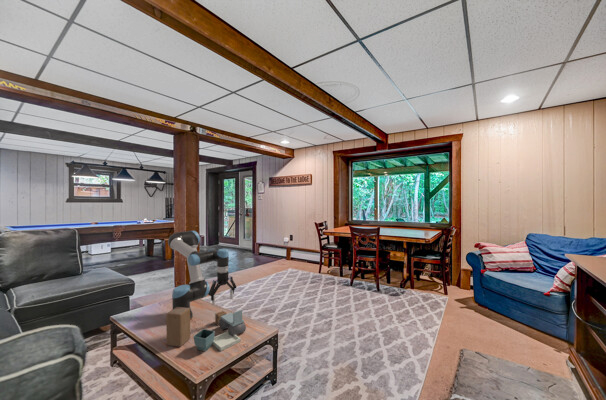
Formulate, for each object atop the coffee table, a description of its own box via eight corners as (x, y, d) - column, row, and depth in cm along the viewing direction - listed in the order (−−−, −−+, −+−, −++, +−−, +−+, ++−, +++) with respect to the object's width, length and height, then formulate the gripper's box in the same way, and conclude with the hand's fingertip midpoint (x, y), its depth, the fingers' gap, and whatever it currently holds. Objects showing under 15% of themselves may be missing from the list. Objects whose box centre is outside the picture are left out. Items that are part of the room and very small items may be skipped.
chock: (215, 323, 182) (215, 313, 182) (223, 320, 186) (222, 310, 186) (218, 325, 179) (218, 315, 178) (226, 322, 183) (226, 312, 183)
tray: (210, 342, 158) (210, 338, 158) (229, 333, 168) (229, 330, 168) (220, 351, 149) (220, 347, 149) (240, 341, 159) (240, 338, 159)
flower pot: (205, 354, 146) (205, 338, 146) (193, 351, 149) (192, 336, 149) (215, 345, 155) (215, 331, 155) (203, 343, 158) (203, 328, 157)
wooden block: (180, 347, 153) (180, 314, 152) (166, 345, 155) (165, 313, 154) (191, 338, 163) (190, 307, 162) (177, 336, 165) (176, 306, 164)
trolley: (218, 327, 175) (218, 305, 175) (230, 323, 182) (230, 301, 182) (233, 338, 162) (233, 314, 162) (245, 333, 169) (245, 310, 168)
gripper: (208, 277, 166) (208, 309, 167) (241, 269, 184) (241, 298, 185) (202, 274, 171) (203, 305, 172) (235, 266, 189) (235, 295, 190)
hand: (222, 301), depth 178 cm, fingers open, 13 cm apart
